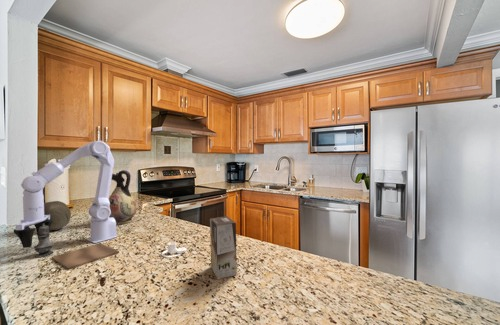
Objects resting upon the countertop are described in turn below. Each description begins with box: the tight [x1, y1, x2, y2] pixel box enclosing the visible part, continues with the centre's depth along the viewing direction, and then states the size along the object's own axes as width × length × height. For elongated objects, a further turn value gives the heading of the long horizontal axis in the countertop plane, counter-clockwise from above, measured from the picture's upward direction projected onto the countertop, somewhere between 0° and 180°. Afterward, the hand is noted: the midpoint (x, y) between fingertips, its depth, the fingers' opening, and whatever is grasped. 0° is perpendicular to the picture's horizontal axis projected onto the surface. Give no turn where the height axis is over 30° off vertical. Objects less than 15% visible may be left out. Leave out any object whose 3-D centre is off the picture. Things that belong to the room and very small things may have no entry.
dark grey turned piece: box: [33, 223, 55, 258], centre depth 87 cm, size 6×6×12 cm
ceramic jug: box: [108, 169, 137, 225], centre depth 131 cm, size 17×15×30 cm
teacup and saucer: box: [161, 241, 187, 258], centre depth 87 cm, size 9×8×4 cm
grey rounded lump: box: [44, 200, 72, 231], centre depth 118 cm, size 14×14×15 cm
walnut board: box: [51, 242, 120, 271], centre depth 86 cm, size 16×16×1 cm
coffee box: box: [209, 216, 238, 280], centre depth 73 cm, size 9×6×16 cm
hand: (35, 243), depth 87 cm, fingers open, 7 cm apart
